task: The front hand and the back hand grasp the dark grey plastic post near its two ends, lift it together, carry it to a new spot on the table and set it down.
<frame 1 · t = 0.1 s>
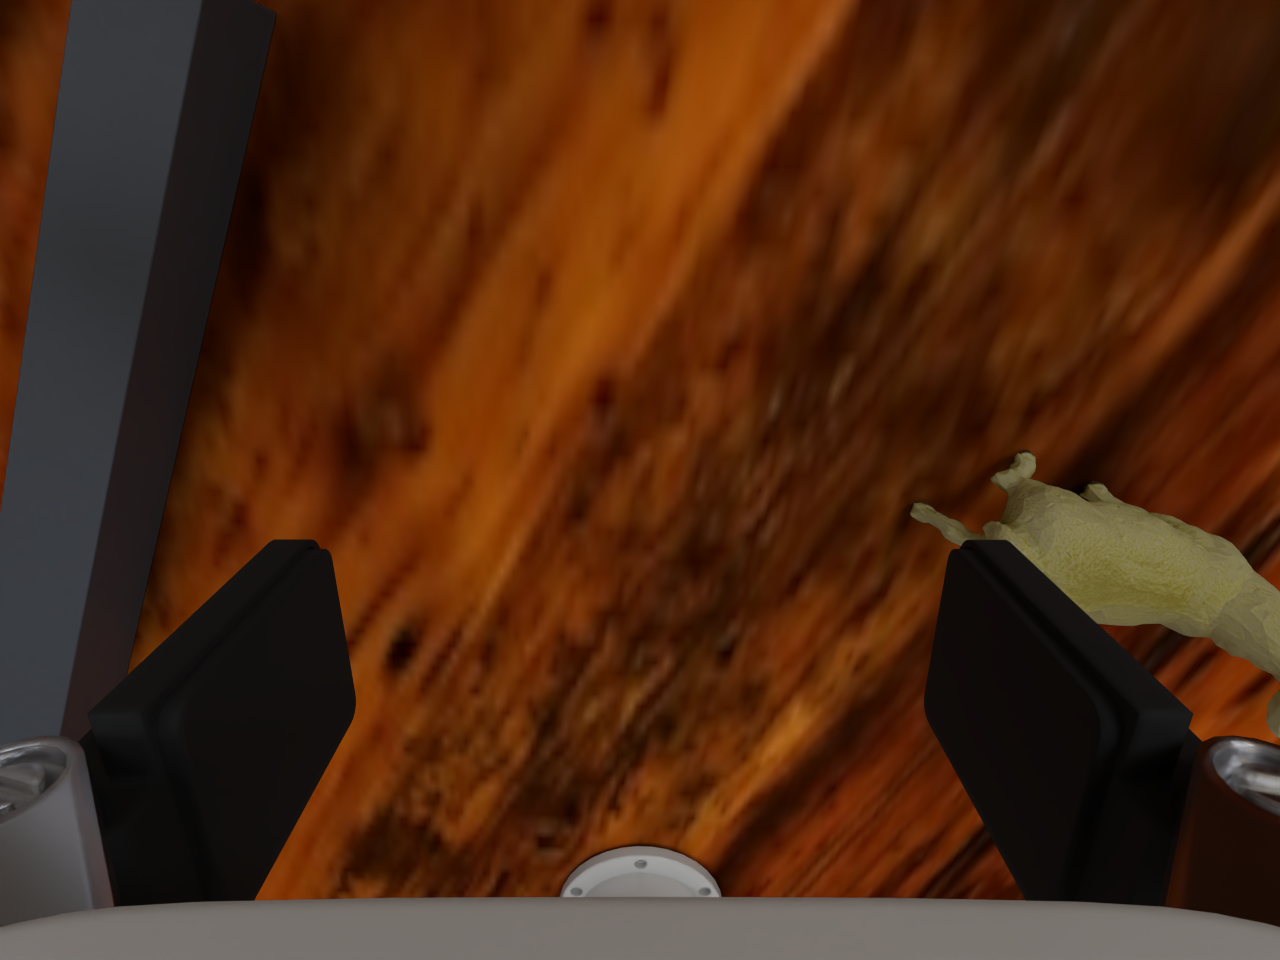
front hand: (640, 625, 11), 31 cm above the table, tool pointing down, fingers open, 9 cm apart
post: (108, 568, 46), on the table
toy: (1051, 513, 45), on the table
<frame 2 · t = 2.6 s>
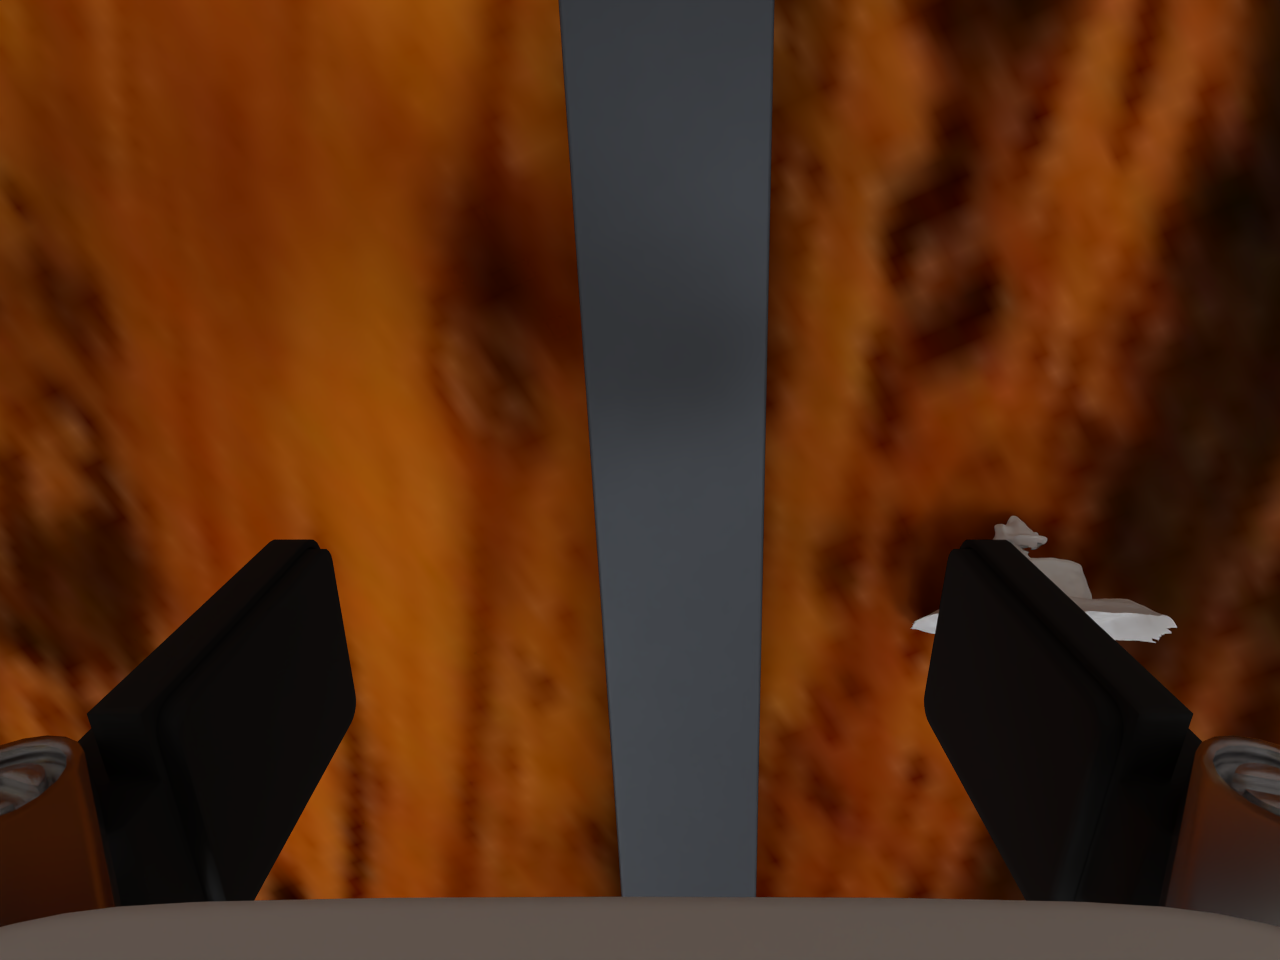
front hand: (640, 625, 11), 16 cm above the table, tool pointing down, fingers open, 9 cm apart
post: (680, 868, 34), on the table, touching back hand
white irregular piece: (994, 580, 29), on the table
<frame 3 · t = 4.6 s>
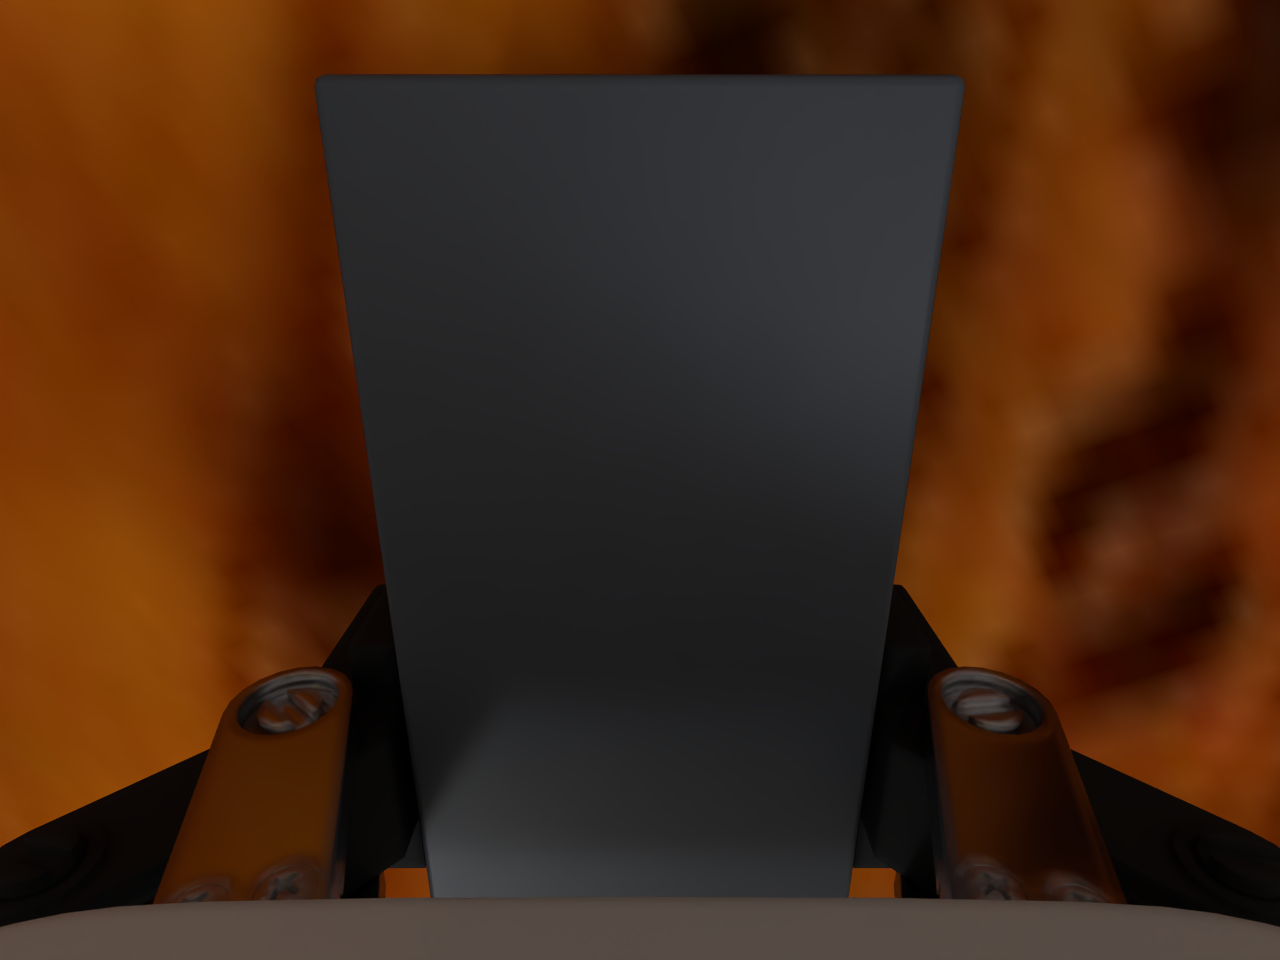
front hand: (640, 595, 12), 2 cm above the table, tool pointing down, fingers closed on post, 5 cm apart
when the front hand's fingers open (3 cm above the table, at t = 10.1 s): post drops 1 cm, on the table.
when the back hand's fingers open (3 cm above the table, at t = 10.1 s): post drops 1 cm, on the table.
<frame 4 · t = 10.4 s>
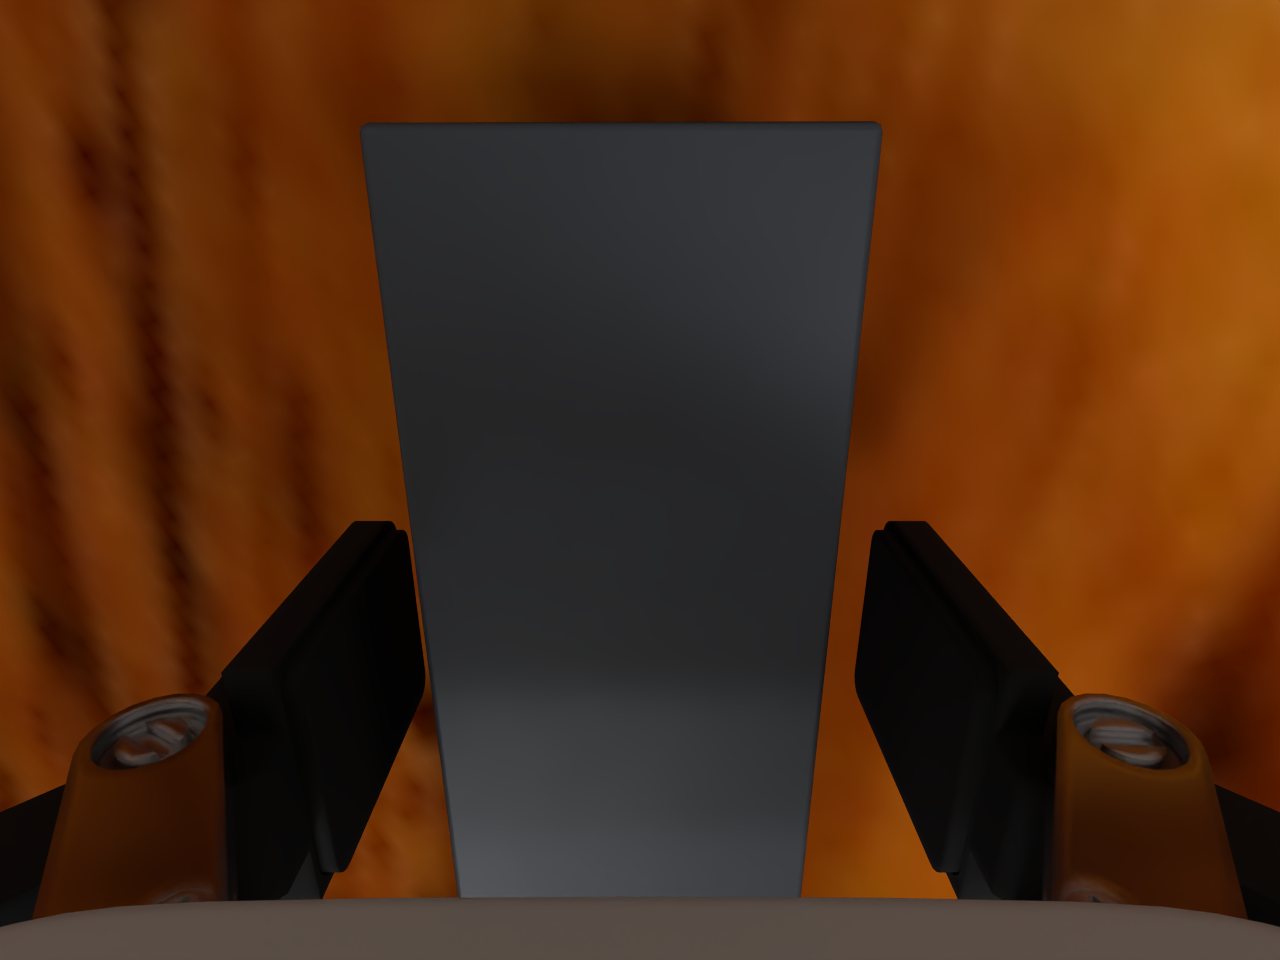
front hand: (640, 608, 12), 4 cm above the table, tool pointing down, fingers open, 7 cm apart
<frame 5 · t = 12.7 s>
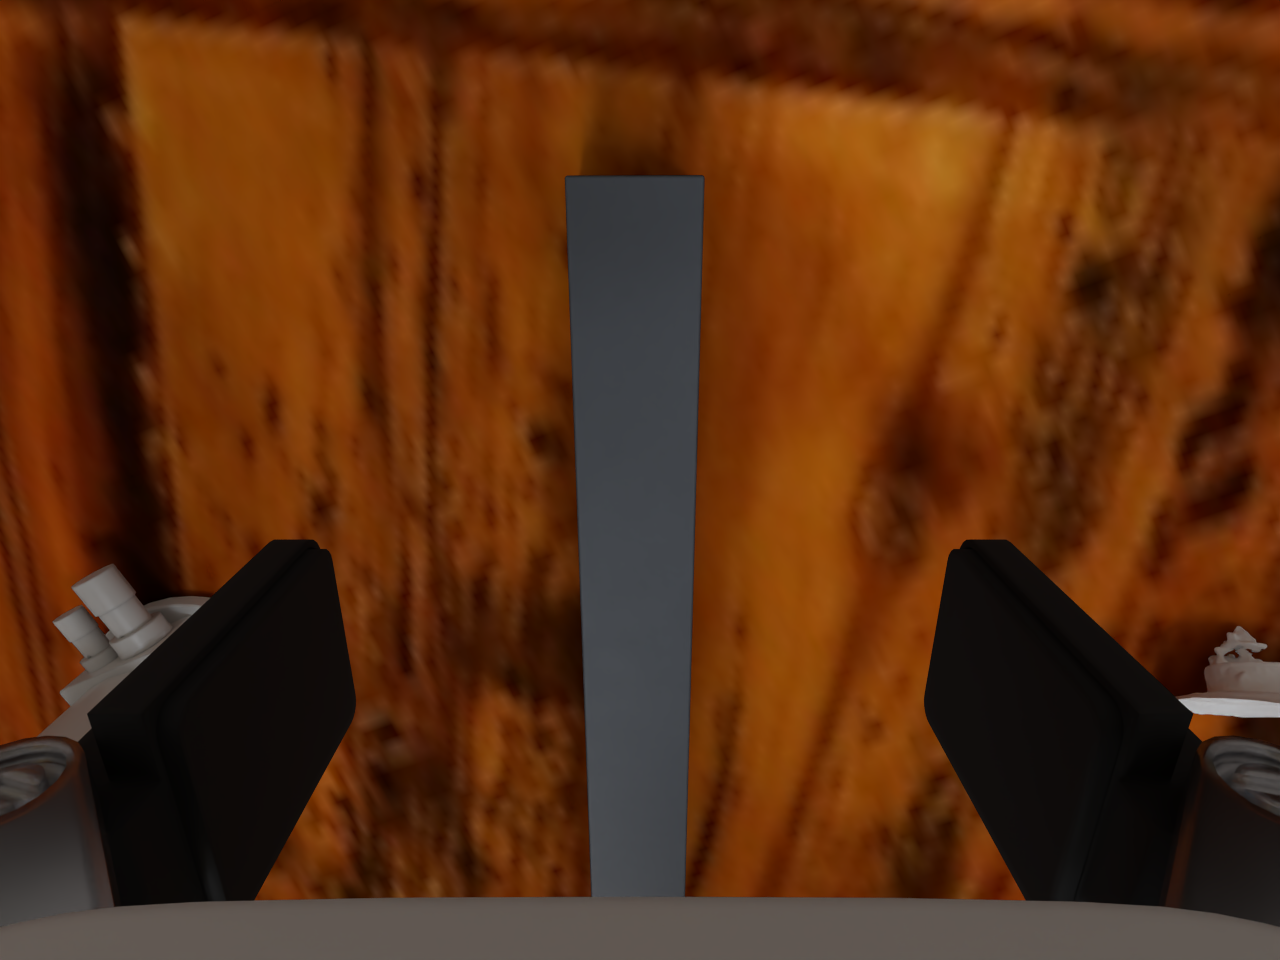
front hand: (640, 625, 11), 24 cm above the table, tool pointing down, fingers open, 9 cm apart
post: (638, 794, 44), on the table
white irregular piece: (1214, 668, 40), on the table
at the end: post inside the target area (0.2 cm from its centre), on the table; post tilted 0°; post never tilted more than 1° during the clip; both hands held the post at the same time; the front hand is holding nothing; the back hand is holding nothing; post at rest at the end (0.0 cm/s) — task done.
